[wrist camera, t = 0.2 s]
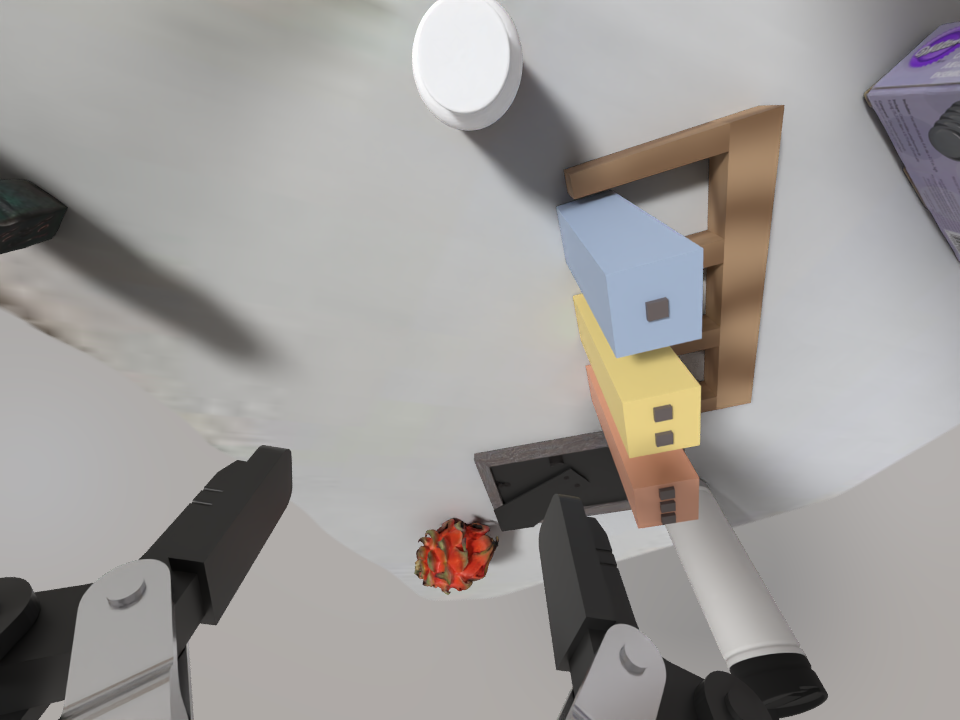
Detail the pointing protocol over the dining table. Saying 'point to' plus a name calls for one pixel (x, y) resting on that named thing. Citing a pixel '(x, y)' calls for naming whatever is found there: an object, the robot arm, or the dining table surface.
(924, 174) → the cake pan box
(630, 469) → the peach rectangular block
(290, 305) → the dining table surface
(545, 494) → the picture frame
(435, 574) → the dragon fruit
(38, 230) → the green backpack
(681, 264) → the blue block
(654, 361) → the yellow block
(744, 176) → the dock
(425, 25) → the pill bottle
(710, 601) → the travel mug
